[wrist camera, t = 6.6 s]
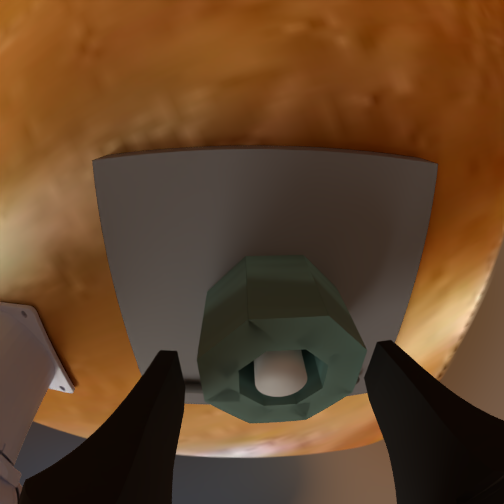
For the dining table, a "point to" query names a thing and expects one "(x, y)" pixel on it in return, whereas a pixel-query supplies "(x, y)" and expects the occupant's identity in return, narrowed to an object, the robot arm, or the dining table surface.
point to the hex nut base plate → (259, 239)
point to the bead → (276, 338)
